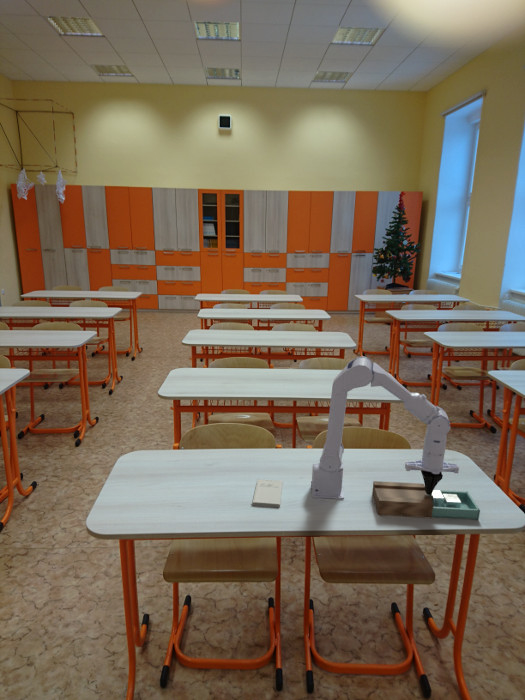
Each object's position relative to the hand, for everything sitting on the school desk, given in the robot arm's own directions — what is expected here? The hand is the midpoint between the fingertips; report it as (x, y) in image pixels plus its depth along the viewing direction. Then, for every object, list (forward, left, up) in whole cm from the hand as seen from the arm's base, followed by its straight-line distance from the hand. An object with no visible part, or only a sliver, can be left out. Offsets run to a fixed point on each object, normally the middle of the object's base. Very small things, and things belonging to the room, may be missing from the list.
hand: (428, 492), depth 129 cm
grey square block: (+4, 0, -2) cm, 5 cm away
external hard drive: (-47, +2, -6) cm, 47 cm away
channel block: (-7, 0, -5) cm, 9 cm away
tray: (+7, 0, -5) cm, 8 cm away
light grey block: (+7, 0, -1) cm, 7 cm away
